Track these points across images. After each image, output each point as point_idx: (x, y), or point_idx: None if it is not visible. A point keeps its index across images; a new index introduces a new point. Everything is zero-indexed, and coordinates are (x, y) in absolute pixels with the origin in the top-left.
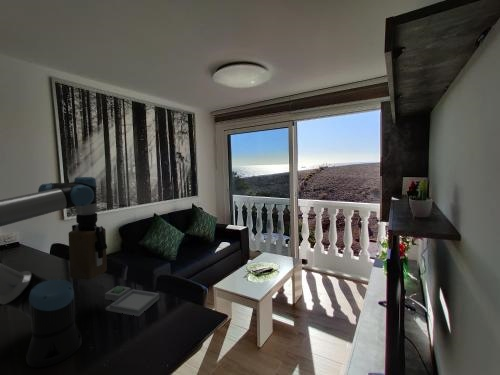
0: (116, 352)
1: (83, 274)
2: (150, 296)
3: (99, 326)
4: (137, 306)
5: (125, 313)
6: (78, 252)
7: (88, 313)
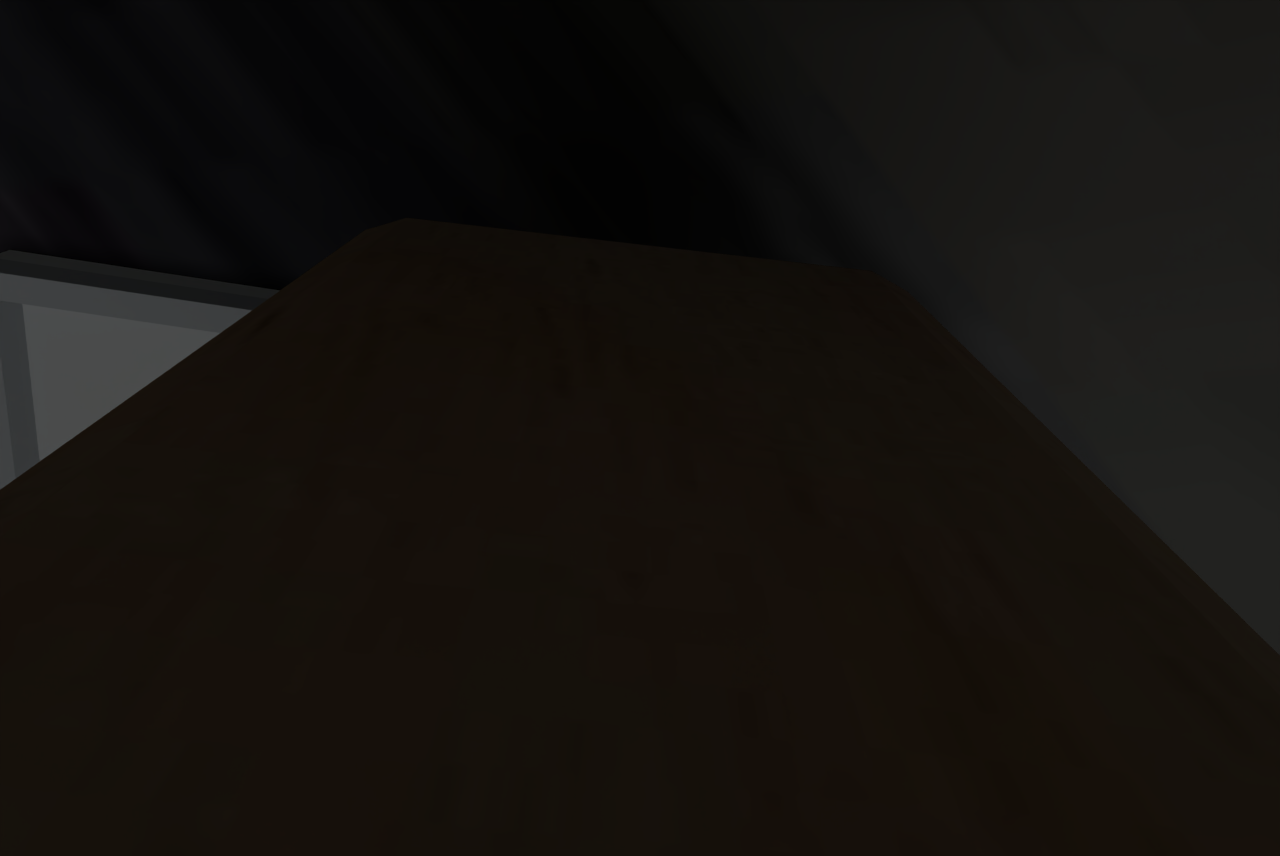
0: None
1: (504, 249)
2: None
3: (307, 10)
4: (120, 396)
5: (191, 279)
6: (614, 588)
7: (628, 242)
